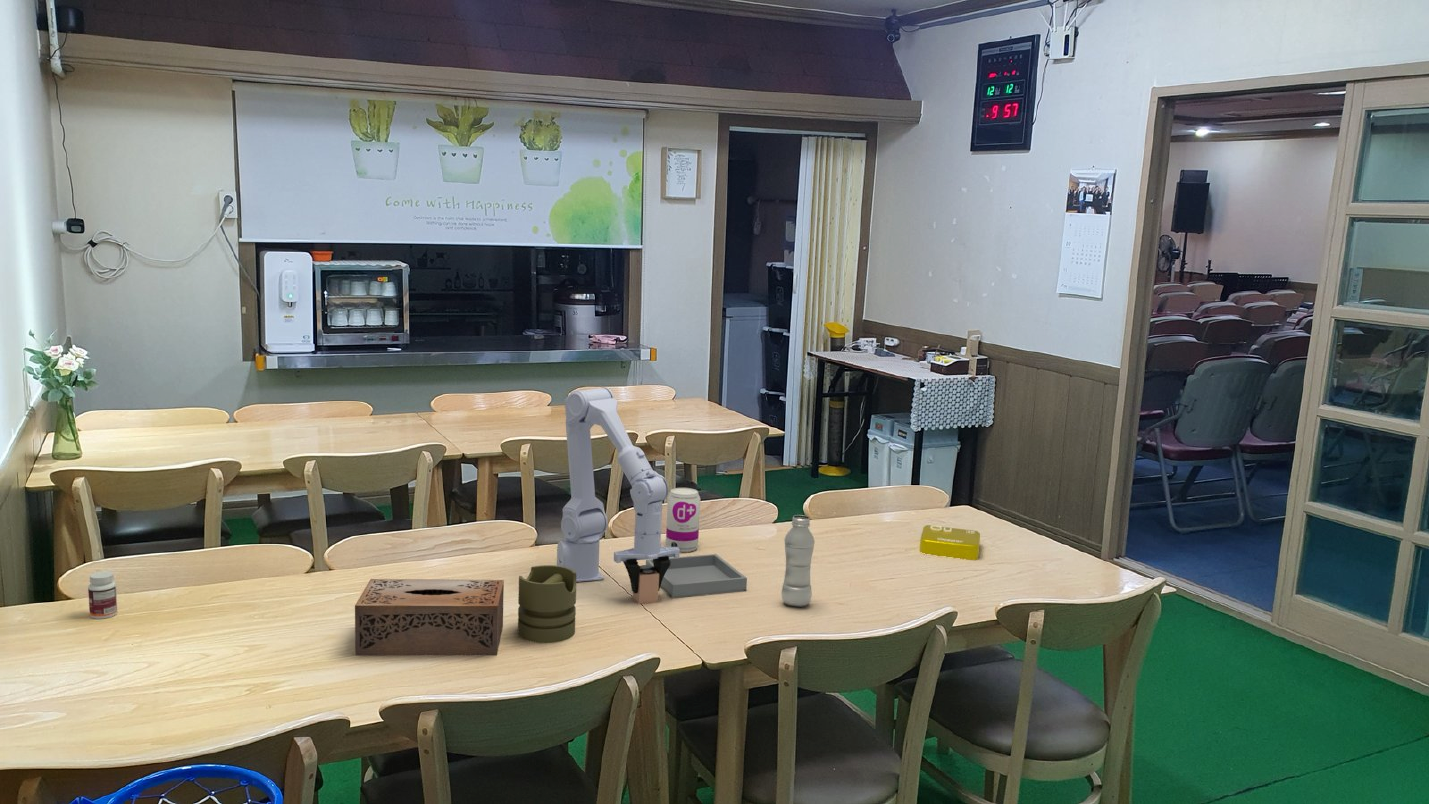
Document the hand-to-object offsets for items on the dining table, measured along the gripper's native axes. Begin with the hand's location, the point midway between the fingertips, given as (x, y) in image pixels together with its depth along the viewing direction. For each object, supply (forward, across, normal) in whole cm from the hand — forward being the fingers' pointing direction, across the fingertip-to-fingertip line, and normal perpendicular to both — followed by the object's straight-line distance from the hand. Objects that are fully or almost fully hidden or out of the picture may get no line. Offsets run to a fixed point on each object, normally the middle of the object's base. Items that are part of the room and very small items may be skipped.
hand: (645, 590), depth 230 cm
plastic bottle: (+2, +31, -12) cm, 33 cm away
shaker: (+2, 0, 0) cm, 2 cm away
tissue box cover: (+2, -47, -10) cm, 48 cm away
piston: (+2, -25, -12) cm, 28 cm away
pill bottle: (+2, -106, +20) cm, 108 cm away
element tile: (+3, +90, +14) cm, 91 cm away
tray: (+2, +15, +8) cm, 17 cm away
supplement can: (+2, +21, +32) cm, 38 cm away
